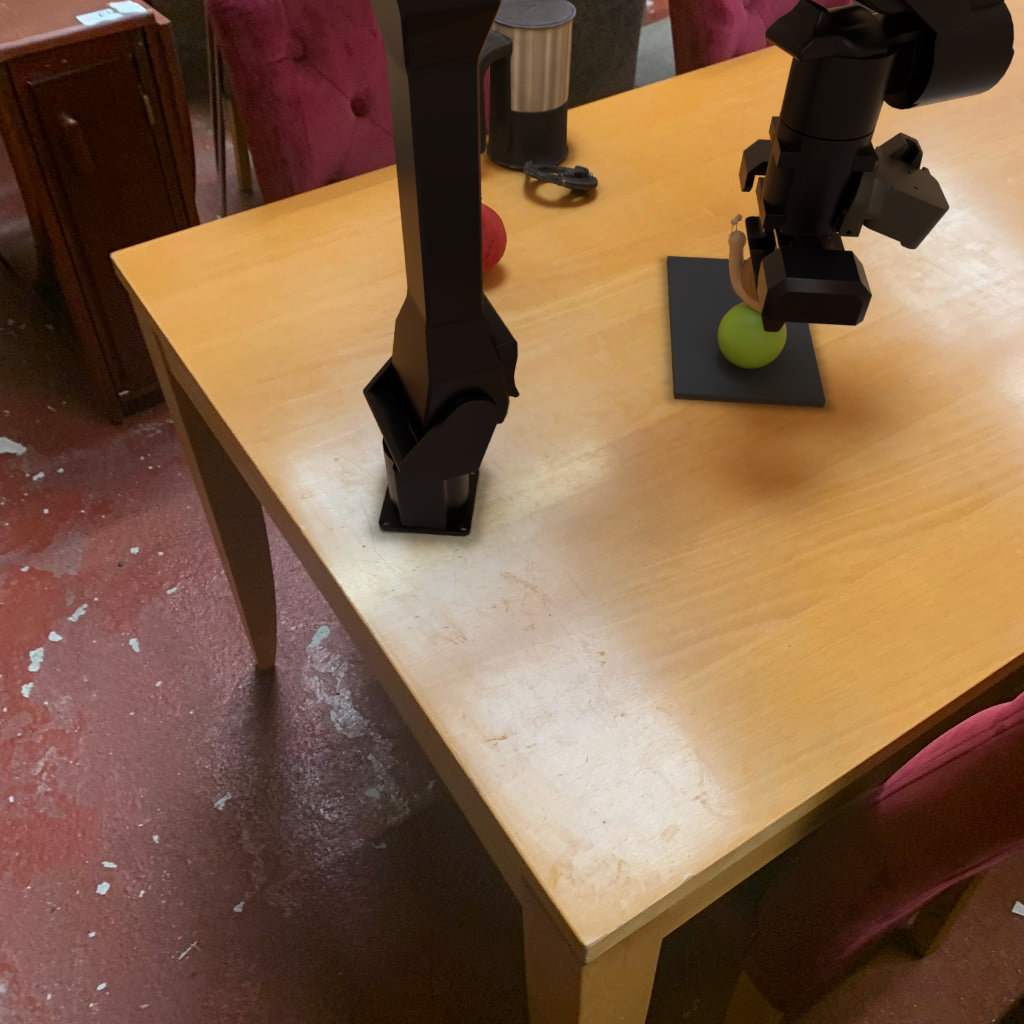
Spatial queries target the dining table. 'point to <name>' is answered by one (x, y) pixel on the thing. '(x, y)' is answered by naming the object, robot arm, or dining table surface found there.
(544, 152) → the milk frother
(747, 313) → the snail figurine
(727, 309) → the mat
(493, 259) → the onion
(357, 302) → the dining table surface
